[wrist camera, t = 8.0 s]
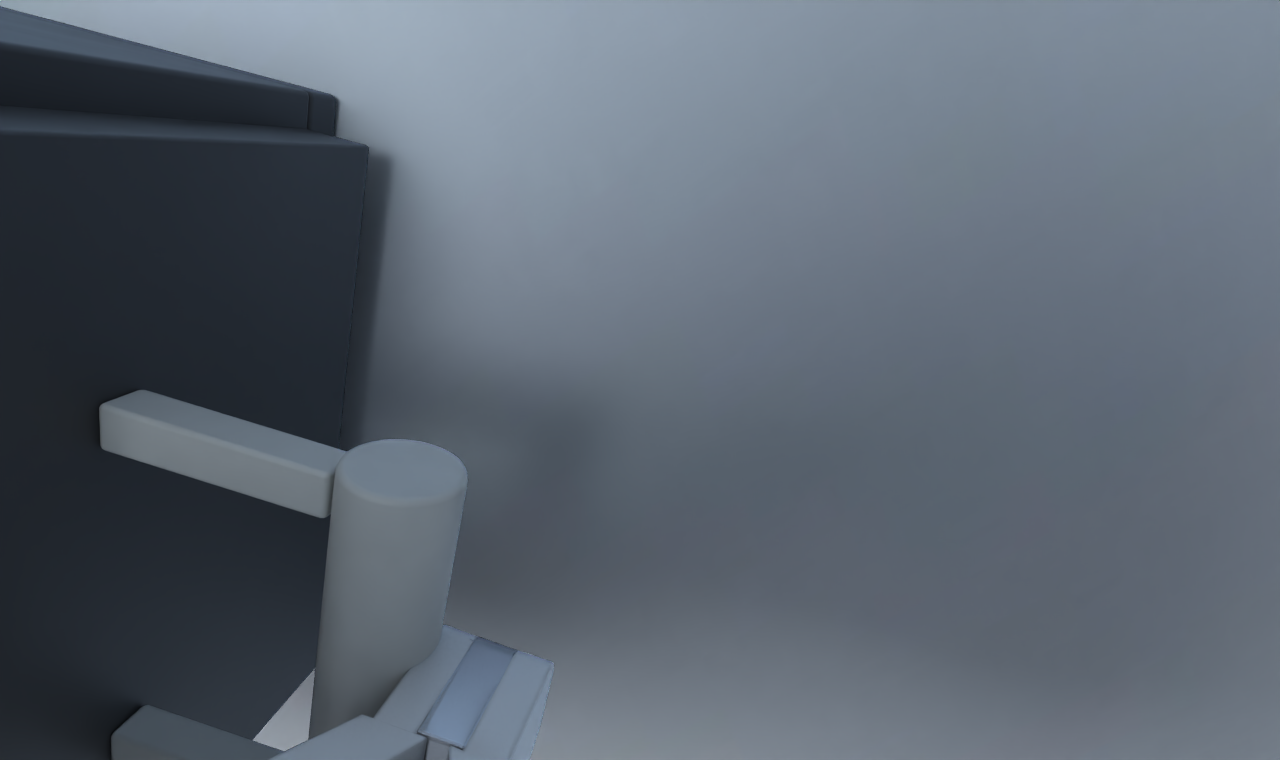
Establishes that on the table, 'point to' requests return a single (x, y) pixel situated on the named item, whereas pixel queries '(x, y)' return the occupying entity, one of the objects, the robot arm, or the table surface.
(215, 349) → the drawer
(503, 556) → the table surface
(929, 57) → the table surface
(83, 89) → the dark grey box
